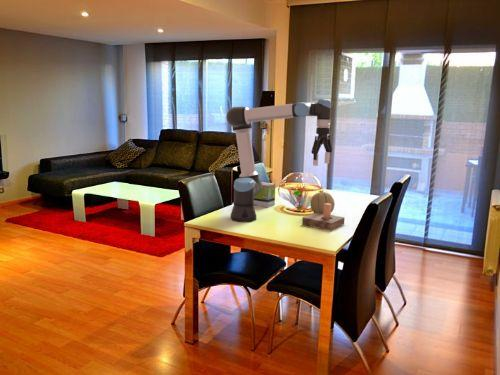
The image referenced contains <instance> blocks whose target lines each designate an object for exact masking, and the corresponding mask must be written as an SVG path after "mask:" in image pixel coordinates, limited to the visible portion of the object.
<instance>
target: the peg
mask: <svg viewBox="0 0 500 375" xmlns="http://www.w3.org/2000/svg"><path fill="white" fill-rule="evenodd" d="M331 215H332V212H331V204H328V203H325V204H324V213H323V219H327V220H330V217H331Z"/></svg>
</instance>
